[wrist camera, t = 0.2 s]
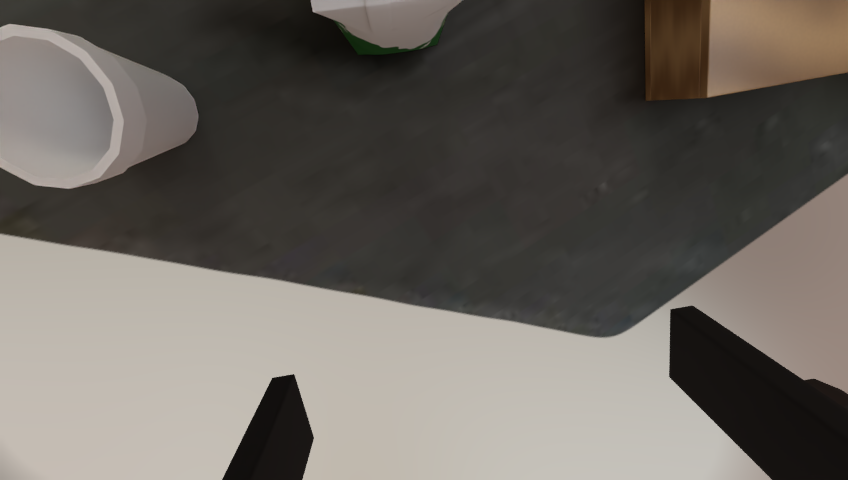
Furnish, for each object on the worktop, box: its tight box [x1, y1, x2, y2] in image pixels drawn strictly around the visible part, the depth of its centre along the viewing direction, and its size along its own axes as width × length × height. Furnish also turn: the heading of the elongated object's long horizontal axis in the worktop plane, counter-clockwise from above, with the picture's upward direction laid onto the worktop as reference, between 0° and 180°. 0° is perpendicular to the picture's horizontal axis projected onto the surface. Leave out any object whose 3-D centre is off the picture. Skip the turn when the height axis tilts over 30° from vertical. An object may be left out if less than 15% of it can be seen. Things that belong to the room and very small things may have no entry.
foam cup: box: [0, 24, 199, 189], centre depth 31 cm, size 10×9×13 cm
